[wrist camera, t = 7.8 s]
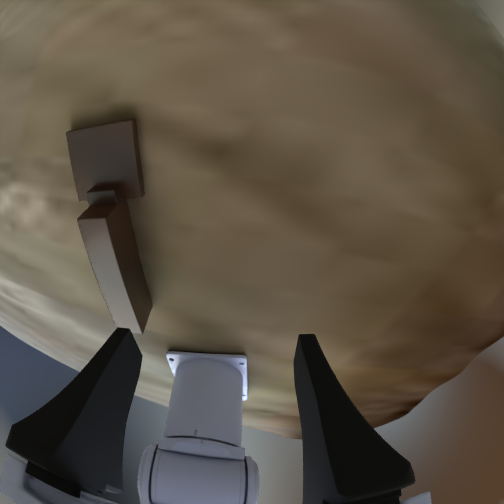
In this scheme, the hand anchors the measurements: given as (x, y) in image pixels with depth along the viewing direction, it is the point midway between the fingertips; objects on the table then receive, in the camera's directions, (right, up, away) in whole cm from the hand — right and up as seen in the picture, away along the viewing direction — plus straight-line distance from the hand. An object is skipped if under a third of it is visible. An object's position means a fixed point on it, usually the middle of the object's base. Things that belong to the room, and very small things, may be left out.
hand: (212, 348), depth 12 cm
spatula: (-8, +6, +7) cm, 12 cm away
